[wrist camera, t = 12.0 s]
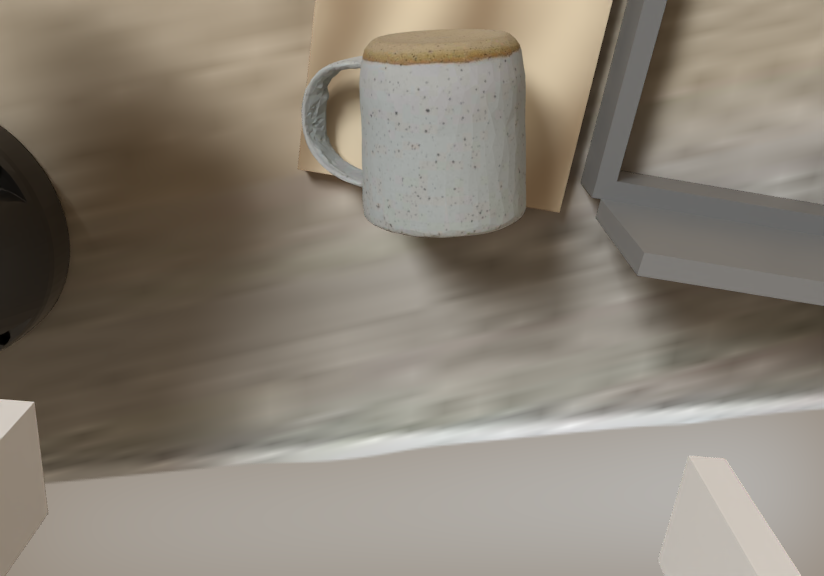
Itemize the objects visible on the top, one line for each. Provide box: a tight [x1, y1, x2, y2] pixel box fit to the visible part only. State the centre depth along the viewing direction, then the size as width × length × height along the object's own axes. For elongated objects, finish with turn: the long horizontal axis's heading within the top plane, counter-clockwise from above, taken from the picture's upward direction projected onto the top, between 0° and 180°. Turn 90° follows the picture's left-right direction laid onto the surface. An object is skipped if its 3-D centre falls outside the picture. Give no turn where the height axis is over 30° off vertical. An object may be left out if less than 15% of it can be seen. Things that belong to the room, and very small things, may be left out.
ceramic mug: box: [302, 29, 526, 238], centre depth 33 cm, size 11×8×8 cm
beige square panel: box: [298, 0, 613, 212], centre depth 36 cm, size 14×14×1 cm
